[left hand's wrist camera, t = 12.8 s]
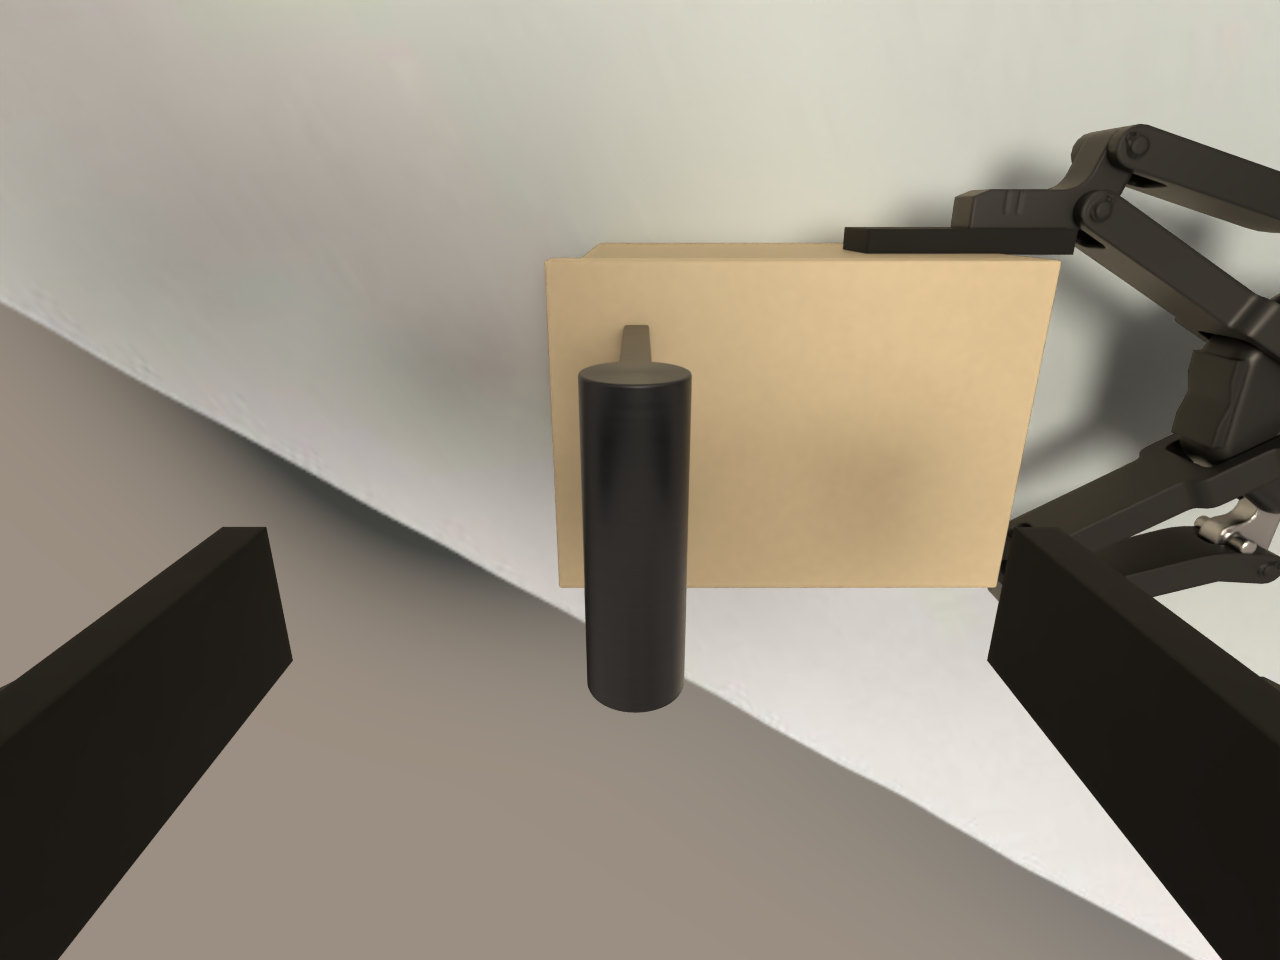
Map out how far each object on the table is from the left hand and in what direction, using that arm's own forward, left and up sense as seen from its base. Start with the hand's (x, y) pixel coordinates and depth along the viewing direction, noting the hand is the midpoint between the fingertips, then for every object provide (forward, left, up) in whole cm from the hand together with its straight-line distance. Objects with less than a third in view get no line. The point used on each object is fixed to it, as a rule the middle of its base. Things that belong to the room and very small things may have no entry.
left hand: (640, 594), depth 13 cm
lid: (+4, +2, -10) cm, 11 cm away
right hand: (+6, +4, -14) cm, 15 cm away
